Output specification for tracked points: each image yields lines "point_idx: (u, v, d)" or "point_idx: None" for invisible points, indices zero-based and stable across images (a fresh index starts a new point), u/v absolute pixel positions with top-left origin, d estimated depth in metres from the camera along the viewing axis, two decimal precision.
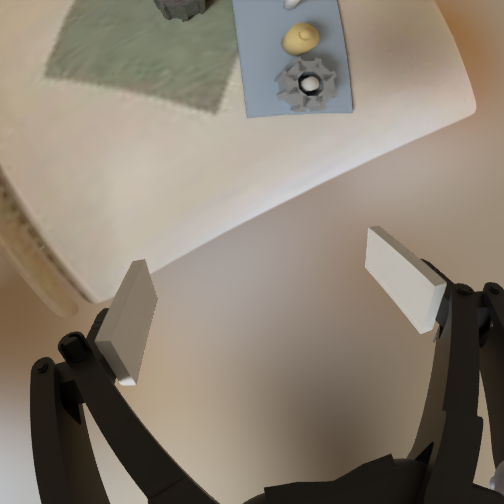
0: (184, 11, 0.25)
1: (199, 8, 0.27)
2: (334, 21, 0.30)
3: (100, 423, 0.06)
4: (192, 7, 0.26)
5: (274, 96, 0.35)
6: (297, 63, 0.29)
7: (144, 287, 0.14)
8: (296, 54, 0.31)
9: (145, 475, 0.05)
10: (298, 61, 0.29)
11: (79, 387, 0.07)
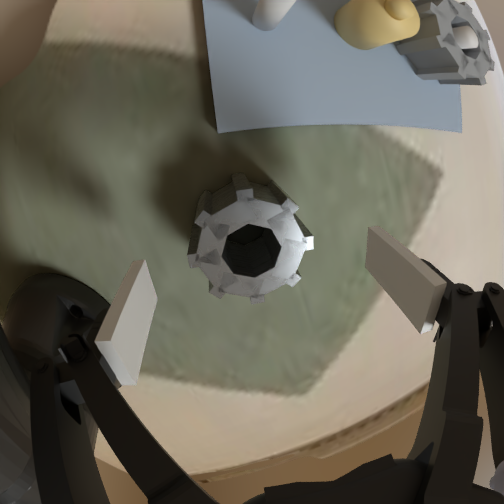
0: None
1: None
2: None
3: (100, 423, 0.06)
4: None
5: (441, 86, 0.16)
6: (445, 44, 0.11)
7: (144, 287, 0.14)
8: None
9: (145, 475, 0.05)
10: (442, 41, 0.11)
11: (79, 387, 0.07)
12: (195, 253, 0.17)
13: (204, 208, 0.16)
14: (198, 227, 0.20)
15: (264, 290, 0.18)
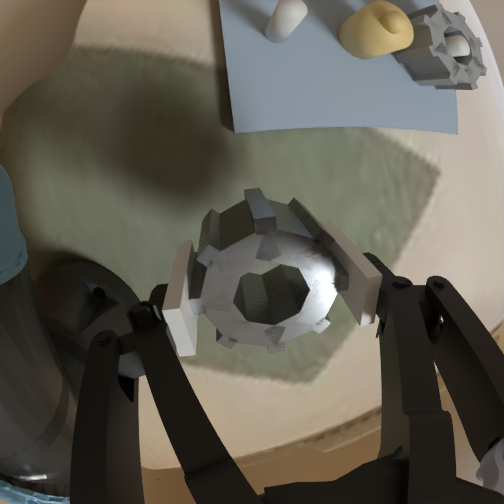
0: None
1: None
2: None
3: (155, 393, 0.07)
4: None
5: (437, 91, 0.18)
6: (437, 53, 0.13)
7: None
8: None
9: (189, 451, 0.05)
10: (434, 50, 0.13)
11: (141, 355, 0.09)
12: (198, 297, 0.13)
13: (210, 241, 0.12)
14: None
15: (285, 338, 0.14)
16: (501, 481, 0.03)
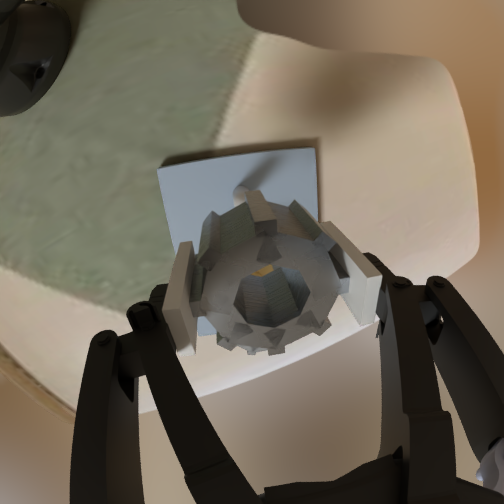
0: None
1: None
2: (307, 207, 0.30)
3: (155, 393, 0.07)
4: None
5: None
6: None
7: (193, 266, 0.16)
8: None
9: (189, 451, 0.05)
10: None
11: (141, 355, 0.09)
12: (199, 300, 0.13)
13: (210, 243, 0.12)
14: None
15: (285, 340, 0.14)
16: (501, 481, 0.03)
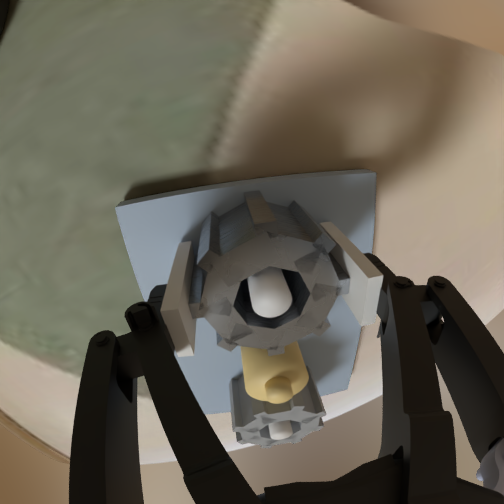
0: None
1: None
2: None
3: (154, 393, 0.07)
4: None
5: None
6: (259, 418, 0.18)
7: (192, 266, 0.16)
8: None
9: (188, 451, 0.05)
10: (261, 415, 0.18)
11: (139, 356, 0.09)
12: (199, 302, 0.13)
13: (210, 245, 0.12)
14: None
15: (285, 341, 0.14)
16: (501, 481, 0.03)
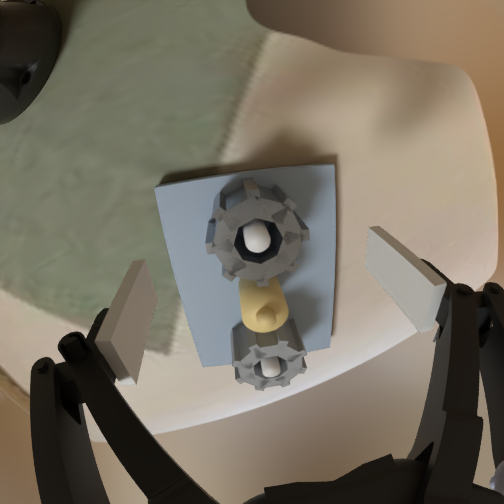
0: None
1: None
2: (325, 232, 0.26)
3: (100, 423, 0.06)
4: None
5: None
6: (253, 351, 0.25)
7: (144, 287, 0.14)
8: None
9: (145, 475, 0.05)
10: (254, 348, 0.25)
11: (79, 387, 0.07)
12: (212, 242, 0.20)
13: (220, 205, 0.20)
14: (213, 222, 0.24)
15: (268, 275, 0.22)
16: None
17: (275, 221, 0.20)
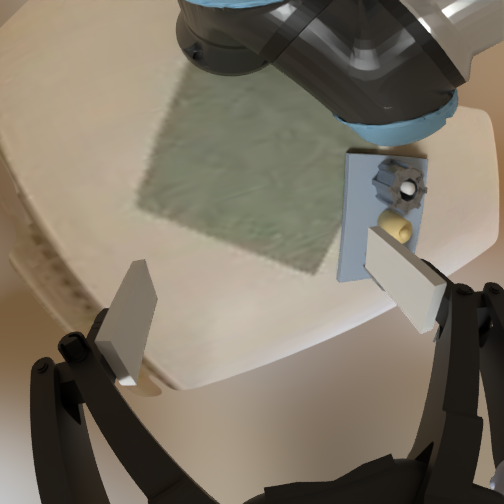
0: None
1: None
2: None
3: (100, 423, 0.06)
4: None
5: (361, 266, 0.47)
6: None
7: (144, 287, 0.14)
8: None
9: (145, 475, 0.05)
10: None
11: (79, 387, 0.07)
12: (391, 186, 0.35)
13: (396, 169, 0.35)
14: (376, 179, 0.39)
15: (409, 208, 0.37)
16: None
17: (416, 181, 0.35)
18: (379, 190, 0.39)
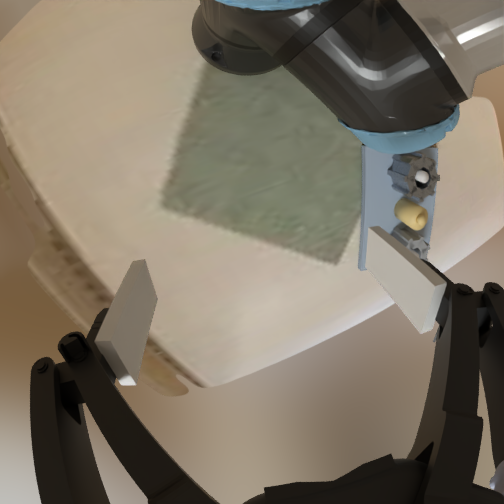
0: None
1: None
2: None
3: (100, 423, 0.06)
4: None
5: None
6: (409, 243, 0.41)
7: (144, 287, 0.14)
8: None
9: (145, 475, 0.05)
10: (410, 241, 0.41)
11: (79, 387, 0.07)
12: (406, 176, 0.36)
13: (411, 158, 0.35)
14: (391, 170, 0.40)
15: (424, 196, 0.37)
16: None
17: (429, 169, 0.35)
18: (395, 180, 0.40)
